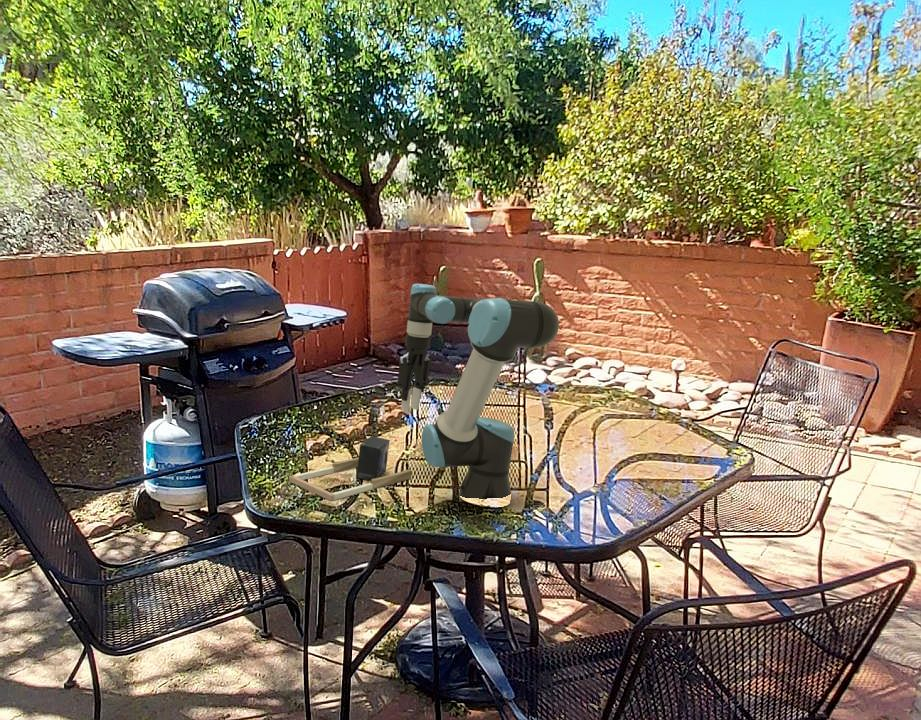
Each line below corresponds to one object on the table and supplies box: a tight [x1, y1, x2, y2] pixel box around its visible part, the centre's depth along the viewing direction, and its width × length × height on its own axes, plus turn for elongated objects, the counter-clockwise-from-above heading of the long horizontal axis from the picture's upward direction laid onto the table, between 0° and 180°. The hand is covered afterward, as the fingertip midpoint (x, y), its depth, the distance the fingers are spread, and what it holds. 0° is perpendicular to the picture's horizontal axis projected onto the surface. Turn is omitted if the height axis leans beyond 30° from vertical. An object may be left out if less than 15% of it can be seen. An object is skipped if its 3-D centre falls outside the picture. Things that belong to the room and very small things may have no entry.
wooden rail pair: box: [331, 456, 413, 490], centre depth 222 cm, size 17×16×2 cm
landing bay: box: [288, 466, 374, 502], centre depth 209 cm, size 17×16×2 cm
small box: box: [355, 435, 390, 482], centre depth 221 cm, size 11×6×10 cm, turn 168°
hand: (409, 409), depth 230 cm, fingers open, 4 cm apart
